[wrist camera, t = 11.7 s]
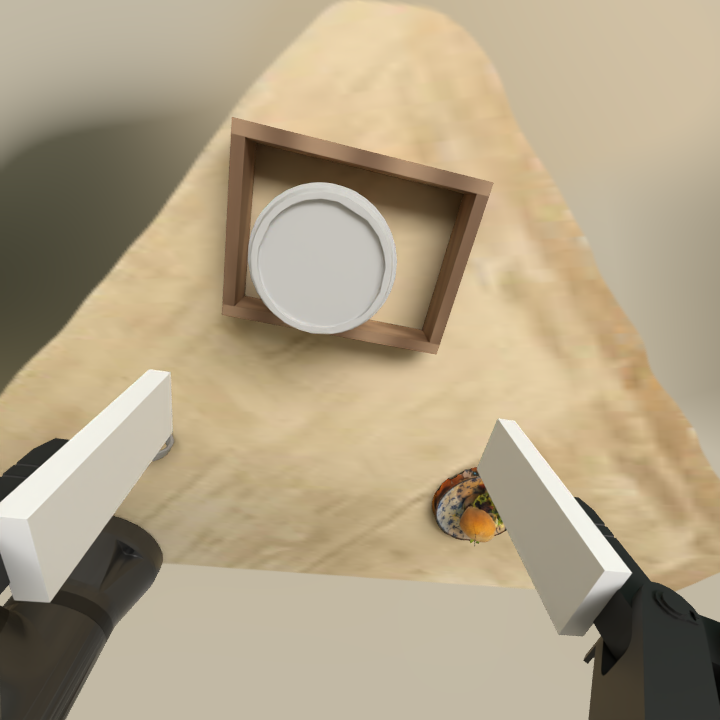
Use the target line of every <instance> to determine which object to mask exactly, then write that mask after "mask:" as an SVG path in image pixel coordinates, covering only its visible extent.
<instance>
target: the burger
mask: <svg viewBox="0 0 720 720" xmlns="http://www.w3.org/2000/svg"><path fill="white" fill-rule="evenodd" d="M435 495H436V496H435ZM435 495H434V498H433V501H432V509H433V513H434V515H435V518H436V521H437V524H438V525H439V527H440V528H441V530H442V531H443V532H444V533H446V534H448V535H450V536H452V537H454V538H456V539H460V540H469V541H470V543H472V542H473V541H474V542H475V541H476V543H479V542H488V541H490V540H491V539H492V538H493V537H494V536H496V535H499V534H501V533H503V532H504V531H506V530H507V529H506V527H505V525H504V523H503V521H502V519H501V517H500V515H499V513H498V511H497V509H496V507H495V505H494V503H493V501H492V499H491V497H490V495H489V493H488V491H487V489H486V487H485V485H484V483H483V481H482V479H481V477H480V475H479V473H478V471H477V468H471V470H465V471H464V473H462V474H458V475H457V477H456V478H453V479H449V478H448V479H447V480H446V481H445V482H444V483H442V485H441V487H440V490H439V491H438V490H437V493H435ZM474 546H475V544H474Z"/></svg>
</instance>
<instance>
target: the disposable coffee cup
mask: <svg viewBox="0 0 720 720" xmlns="http://www.w3.org/2000/svg"><path fill="white" fill-rule="evenodd" d="M248 264H249V270H250V276H251V279H252V282H253V284H254V286H255V289H256V291H257V293H258V295H259V296H260V298H261V299H262V301H263V303H264V304H265V305H266V306H267V307H268V308H269V309H270V310H271V311H272V312H273V314H274V315H275V316H277V317H278V318H280V319H281V320H282V321H284V322H285V323H287V324H288V325H290V326H293V327H295V328H297V329H299V330H302V331H306V332H309V333H315V334H335V333H341V332H345V331H348V330H351V329H353V328H355V327H357V326H359V325H361V324H363V323H364V322H366V321H367V320H369V319H370V318H371V317H372V316H373V315H374V314H376V313H377V311H378V310H379V309H380V308H381V307H382V305H383V304H384V303H385V301H386V299H387V297H388V295H389V294H390V292H391V289H392V286H393V283H394V280H395V275H396V265H397V257H396V247H395V243H394V240H393V236H392V233H391V231H390V229H389V227H388V225H387V223H386V220H385V219H384V218H383V216H382V215H381V214H380V212H379V211H378V210H377V208H376V207H375V206H374V205H373V204H372V203H370V202H369V201H368V200H367V199H366V198H364V197H363V196H361V195H360V194H358V193H357V192H355V191H353V190H351V189H349V188H346V187H344V186H340V185H336V184H333V183H323V182H316V183H307V184H302V185H298V186H296V187H293V188H291V189H288V190H286V191H285V192H283V193H281V194H280V195H278V196H277V197H275V198H274V199H273V200H272V201H271V202H270V203H269V204H268V205H267V206H266V207H265V208H264V209H263V211H262V212H261V214H260V215H259V217H258V218H257V220H256V222H255V225H254V227H253V229H252V231H251V236H250V240H249V244H248Z"/></svg>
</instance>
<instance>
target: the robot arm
mask: <svg viewBox="0 0 720 720" xmlns="http://www.w3.org/2000/svg"><path fill="white" fill-rule="evenodd" d="M172 432H173V424H172V394H171V372H166V371H158V370H151V369H149V370H148V371H147V372H146V373H144V374H143V375H142V376H141V377H140V378H139V379H138V380H137V381H135V382H134V383H133V384H132V385H131V386H130V387H129V388H128V389H127V390H125V391H124V392H123V393H122V394H121V395H120V396H119V397H118V398H116V399H115V400H114V401H113V402H112V403H111V404H110V405H109V406H108V407H106V408H105V409H104V410H103V411H102V412H101V413H100V414H99V415H97V416H96V417H95V418H94V419H93V420H92V421H91V422H90V423H89V424H87V425H86V426H85V427H84V428H83V429H82V430H81V431H80V432H78V433H77V434H76V435H75V436H74V437H73V438H72V439H71V440H66V439H58V438H55V439H53V440H51V441H49V442H47V443H45V444H43V445H41V446H38V447H36V448H34V449H33V450H32V451H30V452H29V453H28V454H27V455H25V456H24V457H23V458H22V459H21V460H19V461H18V462H17V464H16V465H13V466H12V467H11V468H10V469H8V470H7V471H6V472H5V473H3V476H2V477H0V594H1V593H2V592H3V591H4V590H5V588H6V587H7V586H8V585H9V586H10V589H11V592H12V596H11V597H10V598H9V599H8V601H7V602H6V603H5V604H4V606H3V607H2V606H0V720H65V719H66V718H67V716H68V714H69V712H70V710H71V708H72V706H73V704H74V702H75V700H76V698H77V697H78V695H79V693H80V691H81V689H82V687H83V685H84V683H85V682H86V680H87V678H88V676H89V674H90V672H91V670H92V668H93V667H94V665H95V663H96V661H97V659H98V657H99V655H100V653H101V651H102V649H103V648H104V646H105V643H106V642H107V640H108V638H109V636H110V634H111V632H112V631H113V629H114V627H115V626H116V624H117V623H118V622H119V621H120V620H121V619H122V618H123V617H124V616H125V614H126V613H127V612H128V611H129V610H130V609H131V608H132V606H134V604H135V603H136V602H137V601H138V600H139V599H140V598H141V597H142V596H143V595H144V593H145V592H146V591H147V590H148V589H149V588H150V586H151V585H152V583H153V582H154V580H155V578H156V576H157V574H158V572H159V570H160V568H161V565H162V553H161V550H160V548H159V546H158V544H157V543H156V541H155V540H154V539H153V538H152V537H151V536H150V535H149V534H148V533H147V532H146V531H144V530H143V529H141V528H140V527H138V526H136V525H135V524H133V523H131V522H128V521H126V520H123V519H121V518H117V517H114V516H113V514H114V513H115V512H116V510H117V509H118V507H119V506H120V505H121V503H122V502H123V500H124V499H125V498H126V496H127V495H128V493H129V492H130V491H131V489H132V488H133V487H134V485H135V484H136V482H137V481H138V480H139V478H140V477H141V475H142V474H143V473H144V471H145V470H146V468H147V467H148V466H149V464H150V463H151V462H152V460H153V459H154V457H155V456H156V455H157V453H158V452H159V450H160V449H161V448H162V446H163V445H164V443H165V442H166V441H167V439H168V438H169V437H170V435H171V434H172ZM477 471H478V473H479V475H480V477H481V479H482V481H483V483H484V485H485V487H486V489H487V491H488V493H489V495H490V497H491V499H492V501H493V503H494V505H495V507H496V509H497V511H498V513H499V515H500V517H501V519H502V521H503V523H504V525H505V527H506V529H507V531H508V533H509V535H510V537H511V540H512V542H513V544H514V546H515V548H516V550H517V552H518V554H519V556H520V558H521V560H522V562H523V564H524V566H525V568H526V570H527V572H528V574H529V576H530V578H531V580H532V582H533V584H534V586H535V588H536V590H537V592H538V594H539V596H540V598H541V600H542V602H543V604H544V606H545V608H546V610H547V612H548V614H549V616H550V618H551V620H552V622H553V624H554V626H555V628H556V630H557V632H558V634H559V635H572V636H584V635H585V633H586V632H587V631H588V630H589V628H590V627H591V626H592V624H593V623H594V624H595V626H596V628H597V630H598V631H599V633H600V634H601V637H600V638H599V639H598V641H597V642H596V643H595V644H594V645H593V647H592V648H591V649H590V650H589V652H588V653H587V654H586V656H585V658H584V661H585V662H586V663H589V661H590V660H591V659H592V658H595V660H594V670H593V679H592V690H591V700H590V710H589V720H720V622H717V621H715V620H712V619H709V618H707V617H704V616H701V615H699V614H698V613H697V612H696V611H695V609H694V608H693V607H692V606H691V605H690V604H689V603H688V602H687V601H686V600H685V599H683V597H682V596H680V595H679V594H677V593H676V592H674V591H673V590H671V589H670V588H668V587H666V586H664V585H662V584H659V583H655V582H651V581H650V580H649V578H648V577H647V576H646V575H645V573H644V572H643V571H642V570H641V569H640V567H639V566H638V565H637V564H636V562H635V561H634V560H633V559H632V557H631V556H630V555H629V554H628V552H627V551H626V550H625V549H624V547H623V546H622V545H621V544H620V542H619V541H618V540H617V539H616V538H614V535H613V534H612V532H611V531H610V530H609V529H608V527H605V524H604V522H603V521H602V520H601V519H600V517H599V516H598V515H597V514H596V513H595V511H594V510H593V509H592V508H590V507H589V506H588V505H587V504H586V503H584V502H583V501H582V500H581V499H580V498H578V497H573V496H572V494H571V493H570V492H569V491H568V489H567V488H566V487H565V485H564V484H563V483H562V481H561V480H560V479H559V478H558V476H557V475H556V474H555V472H554V471H553V470H552V469H551V467H550V466H549V465H548V463H547V462H546V461H545V459H544V458H543V457H542V456H541V454H540V453H539V452H538V450H537V449H536V448H535V446H534V445H533V444H532V443H531V441H530V440H529V439H528V437H527V436H526V435H525V434H524V432H523V431H522V430H521V428H520V427H519V426H518V424H517V423H516V422H515V421H512V420H505V419H497V421H496V424H495V426H494V429H493V431H492V433H491V436H490V438H489V441H488V443H487V445H486V448H485V450H484V452H483V455H482V457H481V460H480V462H479V464H478V467H477Z"/></svg>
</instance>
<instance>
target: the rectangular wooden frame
mask: <svg viewBox="0 0 720 720" xmlns="http://www.w3.org/2000/svg"><path fill="white" fill-rule="evenodd" d="M256 143H259V144H263V145H267V146H271V147H275V148H279V149H283V150H287V151H292V152H296V153H300V154H304V155H308V156H312V157H316V158H320V159H324V160H328V161H332V162H337V163H341V164H345V165H349V166H353V167H357V168H361V169H365V170H369V171H373V172H377V173H382V174H386V175H390V176H394V177H398V178H402V179H406V180H410V181H414V182H418V183H422V184H427V185H431V186H435V187H439V188H443V189H447V190H451V191H455V192H459V193H463V194H464V195H463V198H462V201H461V204H460V208H459V211H458V214H457V218H456V221H455V224H454V227H453V231H452V234H451V237H450V241H449V244H448V247H447V250H446V254H445V257H444V260H443V263H442V267H441V270H440V273H439V277H438V280H437V283H436V286H435V290H434V293H433V296H432V300H431V303H430V306H429V309H428V313H427V316H426V319H425V323H424V326H423V329H422V330H419V329H414V328H409V327H404V326H399V325H393V324H388V323H383V322H378V321H373V320H367V321H366V322H364V323H363V324H361V325H359V326H357V327H355V328H353V329H351V330H348V331H345V332H341V333H335V334H328V335H334V336H339V337H345V338H350V339H356V340H361V341H366V342H372V343H377V344H383V345H388V346H393V347H399V348H404V349H410V350H415V351H420V352H426V353H431V354H437V351H438V348H439V345H440V342H441V339H442V336H443V333H444V330H445V327H446V324H447V321H448V318H449V315H450V312H451V309H452V306H453V303H454V300H455V297H456V294H457V291H458V288H459V285H460V282H461V279H462V276H463V273H464V270H465V267H466V264H467V261H468V258H469V255H470V252H471V249H472V246H473V243H474V240H475V237H476V234H477V231H478V228H479V225H480V222H481V219H482V216H483V213H484V210H485V207H486V204H487V201H488V198H489V195H490V192H491V189H492V186H493V182H489V181H485V180H481V179H477V178H473V177H469V176H465V175H461V174H457V173H453V172H449V171H445V170H441V169H437V168H433V167H429V166H425V165H421V164H417V163H413V162H409V161H405V160H401V159H397V158H393V157H389V156H385V155H381V154H377V153H373V152H369V151H365V150H361V149H357V148H353V147H349V146H345V145H341V144H337V143H333V142H329V141H325V140H322V139H318V138H314V137H310V136H306V135H302V134H298V133H294V132H290V131H286V130H282V129H278V128H274V127H270V126H266V125H262V124H258V123H254V122H250V121H246V120H242V119H238V118H234V117H232V126H231V146H230V166H229V186H228V207H227V227H226V247H225V267H224V287H223V307H222V315H226V316H231V317H237V318H242V319H247V320H253V321H258V322H264V323H269V324H274V325H280V326H285V327H291V328H295V327H293V326H290V325H288V324H287V323H285V322H284V321H282V320H281V319H280V318H278V317H277V316H275V315H274V314H273V312H272V311H271V310H270V309H269V308H268V307H267V306H266V305H265V304H264V303H263V301H262V299H258V298H253V297H248V296H245V286H246V272H247V259H248V244H249V233H250V220H251V207H252V194H253V180H254V167H255V154H256ZM296 329H297V328H296Z"/></svg>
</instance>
